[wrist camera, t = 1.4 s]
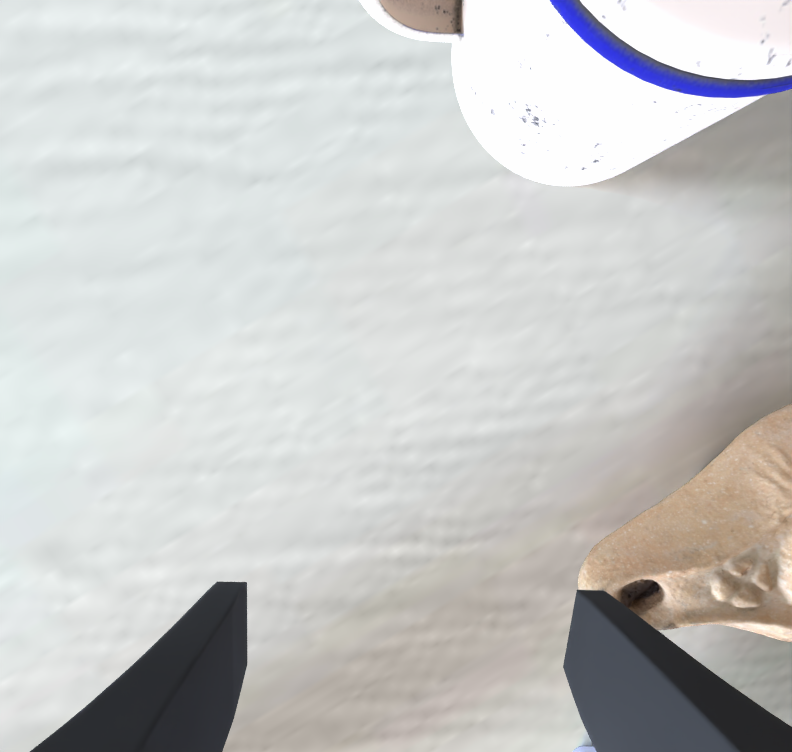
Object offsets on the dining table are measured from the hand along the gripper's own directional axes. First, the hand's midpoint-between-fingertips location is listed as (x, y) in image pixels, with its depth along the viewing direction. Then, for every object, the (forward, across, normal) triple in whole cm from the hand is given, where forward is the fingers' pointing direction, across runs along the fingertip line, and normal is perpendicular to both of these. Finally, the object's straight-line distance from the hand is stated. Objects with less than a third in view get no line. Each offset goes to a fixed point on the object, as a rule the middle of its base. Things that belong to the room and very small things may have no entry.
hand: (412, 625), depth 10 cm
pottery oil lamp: (+8, -13, +1) cm, 16 cm away
